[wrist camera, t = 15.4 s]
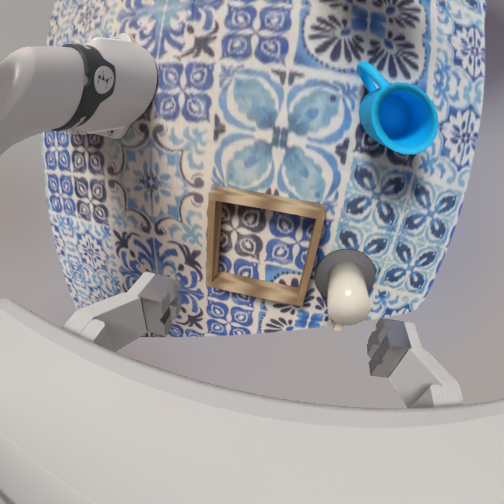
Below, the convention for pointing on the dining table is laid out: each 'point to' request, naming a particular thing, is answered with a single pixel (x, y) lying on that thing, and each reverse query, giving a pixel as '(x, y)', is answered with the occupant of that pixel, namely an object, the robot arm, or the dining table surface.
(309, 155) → the dining table surface
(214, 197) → the holder
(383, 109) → the mug
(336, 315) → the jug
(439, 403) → the robot arm
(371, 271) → the grey oval disc
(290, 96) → the dining table surface
